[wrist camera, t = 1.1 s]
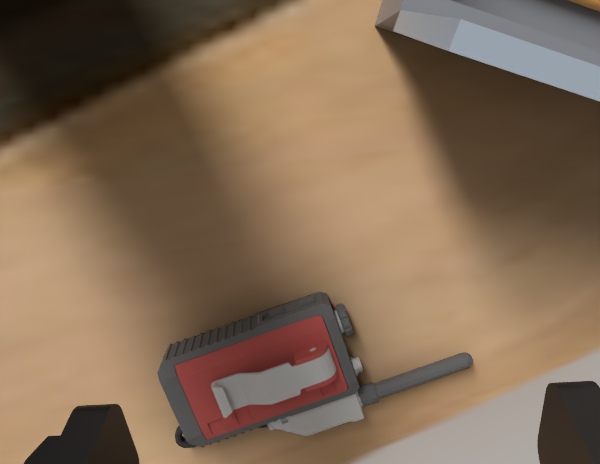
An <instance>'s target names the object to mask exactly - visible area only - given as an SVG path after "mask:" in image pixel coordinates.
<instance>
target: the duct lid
mask: <svg viewBox="0 0 600 464" xmlns="http://www.w3.org/2000/svg"><path fill="white" fill-rule="evenodd" d="M393 31H394V32H397V33H399V34H402V35H405V36H408V37H411V38H413V39H416V40H419V41H422V42H424V43H427V44H430V45H433V46H436V47H438V48H441V49H444V50H447V51H450V52H453V53H456V54H459V55H462V56H465V57H468V58H471V59H474V60H477V61H480V62H483V63H486V64H489V65H492V66H495V67H498V68H501V69H504V70H507V71H510V72H513V73H516V74H519V75H522V76H525V77H528V78H531V79H534V80H537V81H540V82H543V83H546V84H549V85H552V86H555V87H558V88H561V89H564V90H567V91H570V92H573V93H576V94H579V95H582V96H585V97H588V98H591V99H594V100H597V101H600V66H597V65H594V64H591V63H588V62H585V61H582V60H579V59H576V58H573V57H570V56H567V55H565V54H562V53H559V52H556V51H553V50H550V49H547V48H544V47H541V46H538V45H535V44H532V43H529V42H527V41H524V40H521V39H518V38H515V37H512V36H509V35H506V34H503V33H500V32H497V31H494V30H491V29H489V28H486V27H483V26H480V25H477V24H474V23H471V22H468V21H465V20H462V19H457V18H451V17H444V16H437V15H430V14H424V13H417V12H410V11H404V10H400V13H399V16H398V18H397V21H396V24H395V27H394V30H393Z"/></svg>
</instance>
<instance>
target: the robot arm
mask: <svg viewBox="0 0 600 464" xmlns="http://www.w3.org/2000/svg"><path fill="white" fill-rule="evenodd" d="M538 454H539V460H540V464H600V388H599V386H598V385H597V384H596V383H595V382H593V381H582V382H562V383H550V384H548V386H547V388H546V393H545V399H544V405H543V411H542V417H541V423H540V428H539V434H538ZM24 464H139V458H138V454H137V451H136V448H135V445H134V442H133V440H132V437H131V434H130V431H129V428H128V426H127V423H126V420H125V417H124V414H123V412H122V409H121V407H120V406H119V405H118V404H105V405H86V406H77V407H76V408H75V409H74V410H73V411H72V413H71V415H70V417H69V419H68V421H67V423H66V426H65V428H64V430H63V432H62V434H61V436H48V437H47V438H46V439H45V440H44V441H43V442H42V443H41V444H40V445H39V446H38V448H37V449H36V450H35V451H34V452H33V453H32V454H31V455H30V456H29V457H28V458H27V459H26V460H25V462H24Z"/></svg>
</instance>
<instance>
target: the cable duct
mask: <svg viewBox="0 0 600 464" xmlns="http://www.w3.org/2000/svg"><path fill="white" fill-rule="evenodd" d="M400 10H404V11H410V12H417V13H424V14H430V15H437V16H444V17H451V18H457V19H462V20H465V21H468V22H471V23H474V24H477V25H480V26H483V27H486V28H489V29H491V30H494V31H497V32H500V33H503V34H506V35H509V36H512V37H515V38H518V39H521V40H524V41H527V42H529V43H532V44H535V45H538V46H541V47H544V48H547V49H550V50H553V51H556V52H559V53H562V54H565V55H567V56H570V57H573V58H576V59H579V60H582V61H585V62H588V63H591V64H594V65H597V66H600V0H383V2H382V5H381V8H380V11H379V15H378V18H377V21H376V24H375V26H376V27H379V28H382V29H385V30H388V31H391V32H394V31H393V30H394V27H395V24H396V21H397V18H398V16H399V13H400ZM394 33H397V32H394ZM397 34H399V33H397ZM400 35H402V34H400ZM403 36H405V35H403ZM406 37H408V36H406ZM409 38H411V37H409ZM412 39H413V38H412ZM415 40H416V39H415ZM418 41H419V40H418ZM421 42H422V41H421Z"/></svg>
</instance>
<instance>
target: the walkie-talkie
mask: <svg viewBox="0 0 600 464" xmlns="http://www.w3.org/2000/svg"><path fill="white" fill-rule="evenodd" d="M335 308H336V310H332V307H331V305H330V302H329V299H328V296H327V294H326V293H322V292H317V293H314V294H311V295H308V296H305V297H303V298H300V299H297V300H294V301H291V302H288V303H286V304H283V305H280V306H277V307H274V308H271V309H268V310H266V311H263V312H260V313H257V314H256V316H253V317H251V316H249V317H248V318H247V319H244V320H243V319H240V321H239V322H236V323H235V322H232V324H230V325H227V324H226V325H224V327H222V328H219V327H217V328H216V330H213V331H211V330H209V331H208V333H205V334H203V333H200V335H199V336H192V338H191V339H187V338H186V339H184V341H182V342H179V341H178V342H176V344H174V345H172V344H170V345H169V347H168V349H167V351H166V353H165V355H164V358H163V360H162V363H161V366H160V368H159V371H158V376H159V380H160V382H161V385H162V387H163V389H164V392H165V394H166V396H167V398H168V401H169V403H170V405H171V407H172V410H173V412H174V414H175V416H176V419H177V421H178V423H179V425H180V426H178V428H177V430H176V433H175V438H176V443H177V444H178V445H179V446H181V447H183V448H192V447H196V446H201V447H204V446H205V445H208V444H209V445H211V444H212V443H213V442H216V441H217V442H219V441H220V440H222V439H228V437H230V436H236V434H239V433H244V432H245V431H248V430H250V431H251V430H252V429H253V428H256V427H257V428H264V427H268V428H269V430H270V431H272V430H274V429H279V430H283V431H287V432H291V433H295V434H299V435H303V436H310V435H312V434H315V433H318V432H321V431H324V430H327V429H330V428H333V427H336V426H338V425H341V424H344V423H347V422H350V421H351V422H356V421H359V420H362V419H364V415H363V412H362V409H361V408H363V407H364V406H367V405H370V404H373V403H376V402H379V399H380V398H383V397H386V396H389V395H392V394H395V393H398V392H400V391H403V390H406V389H409V388H412V387H415V386H418V385H421V384H423V383H426V382H429V381H432V380H435V379H438V378H441V377H443V376H446V375H449V374H452V373H455V372H458V371H461V370H464V369H466V368H469V367H470V366H471V365H472V363H473V359H472V357H471V355H470V354H468V353H460V354H457V355H454V356H452V357H449V358H446V359H443V360H440V361H437V362H434V363H432V364H429V365H426V366H423V367H420V368H417V369H415V370H412V371H409V372H406V373H403V374H400V375H397V376H395V377H392V378H389V379H386V380H383V381H380V382H377V383H375V384H374V383H372V382H371V383H368V384H365V385H363V386H360V387H359V384H358V381H357V378H356V376H358V373H359V372H362V371H363V368H362V365H361V362H360V359H359V357H356V358H352V356H351V357H350V358H349V355H348V353H347V348H346V345H345V342H344V340H343V338H342V334H343V333H344V334H345V335H346V336H347V337H348V336H350V335H352V334H353V330H352V326H351V323H350V321H349V318H348V315H347V312H346V310H345V307H344V305H343V304H338V305H336V307H335ZM182 433H183V434H184V437H185V438H184V437H183V436H182Z"/></svg>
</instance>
